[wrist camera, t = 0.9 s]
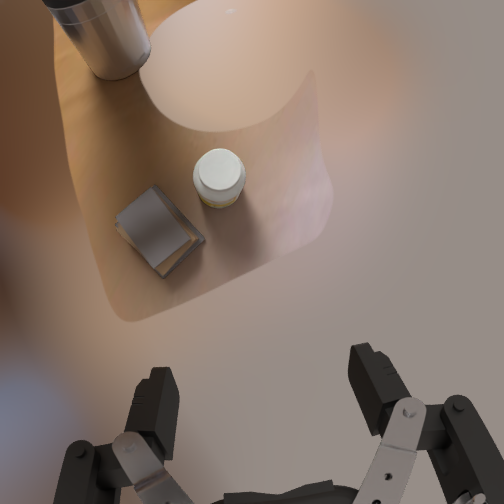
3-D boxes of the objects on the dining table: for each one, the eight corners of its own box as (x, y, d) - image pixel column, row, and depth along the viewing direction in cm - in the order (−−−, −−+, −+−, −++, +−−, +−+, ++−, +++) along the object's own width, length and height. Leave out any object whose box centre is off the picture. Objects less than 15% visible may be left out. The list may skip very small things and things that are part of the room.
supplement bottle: (221, 217, 37) (222, 210, 28) (187, 189, 37) (177, 173, 27) (250, 184, 37) (260, 166, 28) (216, 156, 37) (216, 130, 27)
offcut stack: (116, 225, 36) (104, 223, 32) (156, 185, 36) (148, 179, 32) (163, 278, 37) (157, 283, 33) (205, 238, 37) (203, 238, 33)
